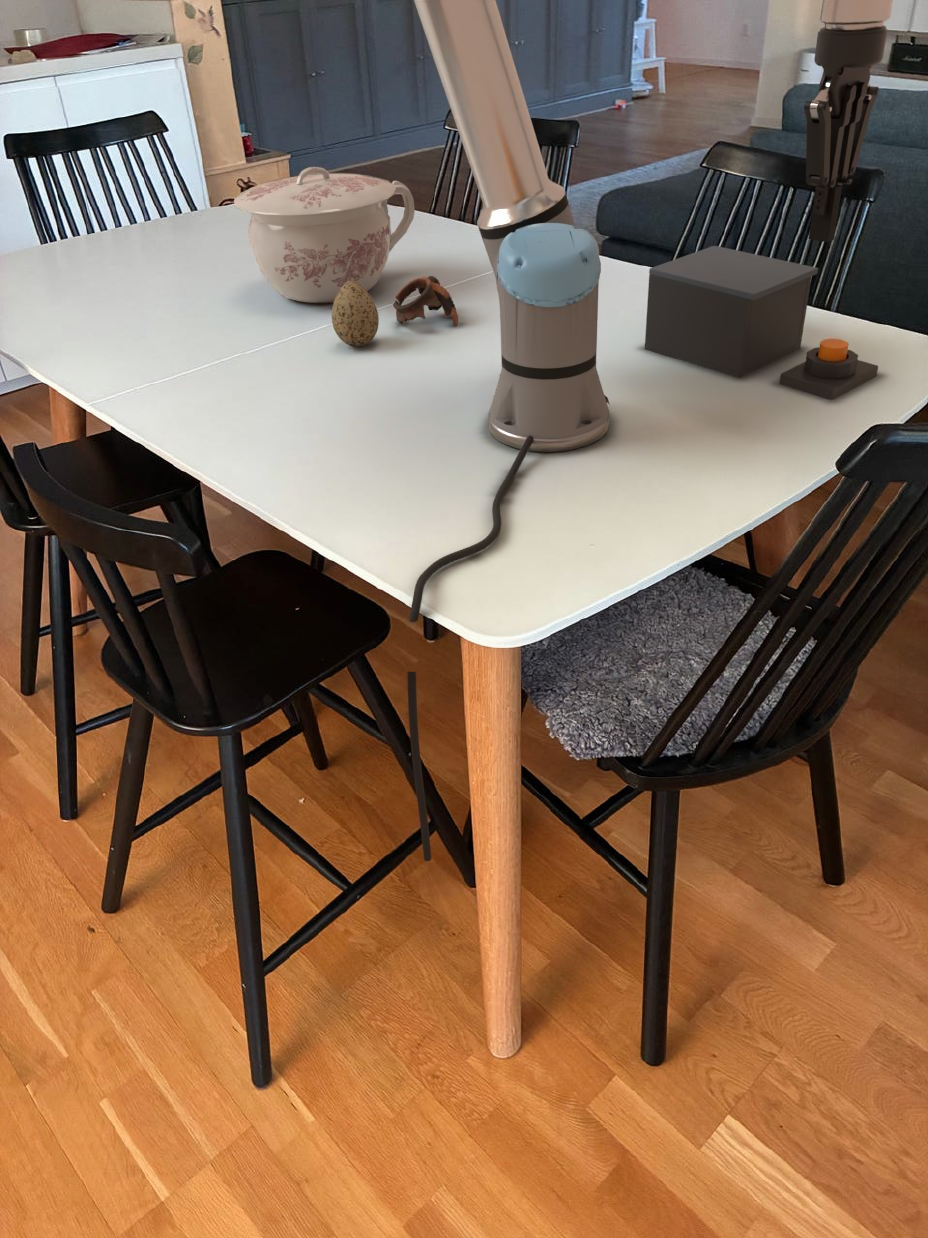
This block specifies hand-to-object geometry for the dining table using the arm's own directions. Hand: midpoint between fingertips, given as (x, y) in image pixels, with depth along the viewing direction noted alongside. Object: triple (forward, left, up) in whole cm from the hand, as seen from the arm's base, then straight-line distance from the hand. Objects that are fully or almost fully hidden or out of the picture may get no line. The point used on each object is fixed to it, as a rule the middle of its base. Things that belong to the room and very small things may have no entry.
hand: (821, 239), depth 125 cm
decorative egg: (+13, +65, -18) cm, 68 cm away
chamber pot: (+40, +75, -18) cm, 86 cm away
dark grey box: (+9, +10, -18) cm, 22 cm away
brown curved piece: (+23, +55, -18) cm, 62 cm away
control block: (-3, -3, -18) cm, 18 cm away
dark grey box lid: (+9, +9, -7) cm, 14 cm away
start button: (-3, -3, -15) cm, 15 cm away
